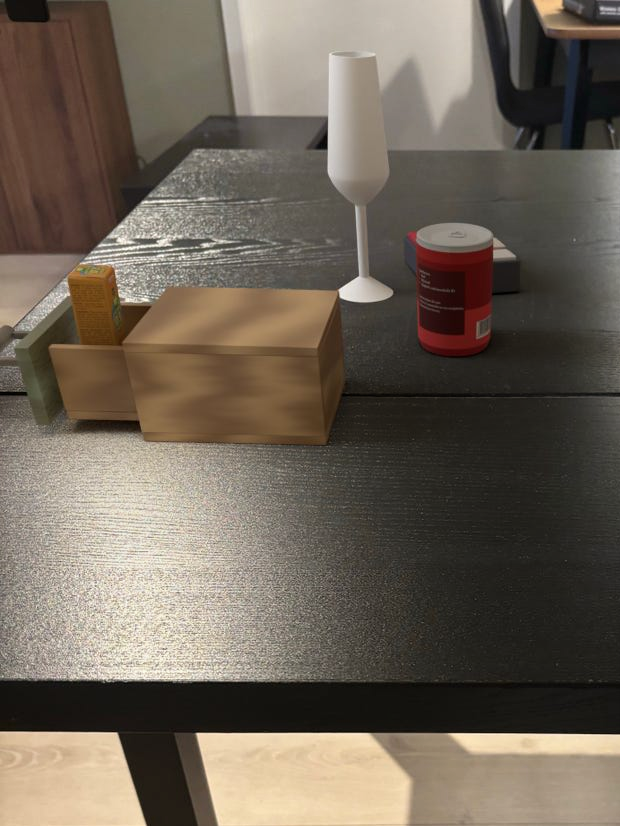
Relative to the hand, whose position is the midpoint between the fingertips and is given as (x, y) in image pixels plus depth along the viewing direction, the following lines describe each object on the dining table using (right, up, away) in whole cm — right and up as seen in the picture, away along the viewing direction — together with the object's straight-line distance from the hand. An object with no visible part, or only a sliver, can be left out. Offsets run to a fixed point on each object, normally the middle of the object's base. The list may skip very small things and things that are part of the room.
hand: (5, 28), depth 71 cm
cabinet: (+15, -26, +14) cm, 33 cm away
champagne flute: (+23, -6, +39) cm, 46 cm away
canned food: (+33, -15, +27) cm, 46 cm away
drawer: (+3, -25, +13) cm, 28 cm away
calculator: (+34, -2, +45) cm, 56 cm away
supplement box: (+3, -24, +13) cm, 27 cm away
